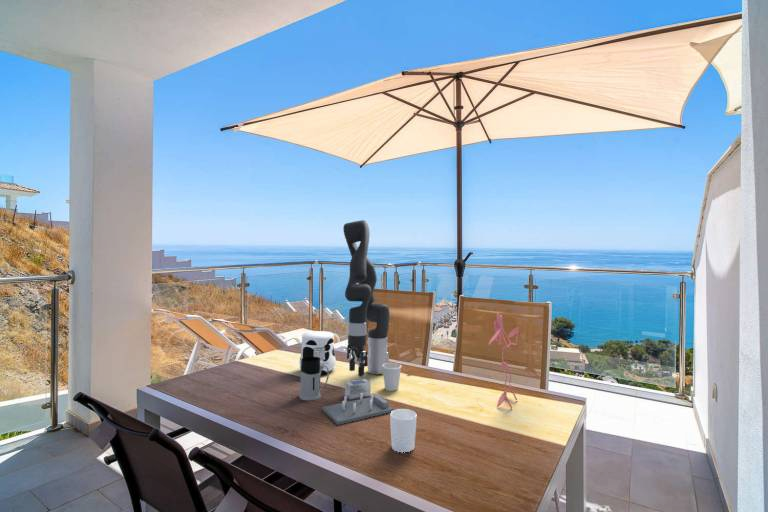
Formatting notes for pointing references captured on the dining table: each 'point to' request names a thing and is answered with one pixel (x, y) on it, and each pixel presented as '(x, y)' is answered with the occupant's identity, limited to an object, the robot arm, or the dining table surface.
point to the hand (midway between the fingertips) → (356, 373)
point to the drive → (357, 388)
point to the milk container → (319, 348)
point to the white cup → (403, 429)
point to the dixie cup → (391, 375)
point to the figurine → (498, 337)
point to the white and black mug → (311, 378)
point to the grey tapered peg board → (357, 409)
